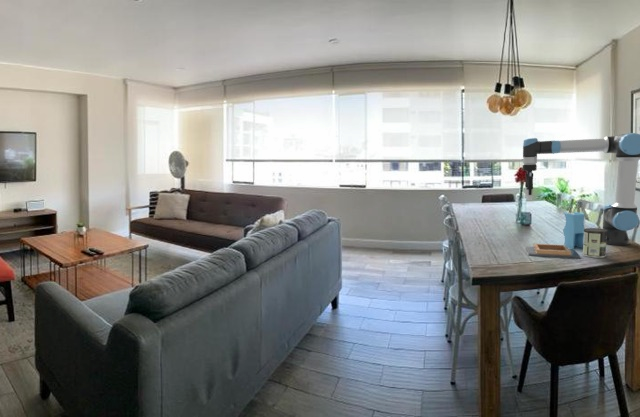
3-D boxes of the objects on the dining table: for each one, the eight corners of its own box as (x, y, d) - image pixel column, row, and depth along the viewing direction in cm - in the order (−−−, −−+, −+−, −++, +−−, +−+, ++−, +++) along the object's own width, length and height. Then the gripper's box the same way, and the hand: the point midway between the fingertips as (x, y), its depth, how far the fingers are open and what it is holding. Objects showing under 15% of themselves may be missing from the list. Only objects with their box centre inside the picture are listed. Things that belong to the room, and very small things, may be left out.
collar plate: (573, 250, 224) (573, 245, 224) (579, 258, 209) (580, 252, 208) (525, 248, 233) (525, 243, 233) (528, 255, 218) (528, 249, 217)
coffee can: (599, 253, 218) (601, 228, 216) (609, 258, 208) (611, 231, 206) (579, 253, 220) (580, 227, 218) (587, 257, 210) (589, 231, 208)
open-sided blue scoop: (574, 245, 238) (575, 212, 235) (584, 247, 230) (586, 213, 227) (562, 246, 236) (564, 212, 234) (572, 248, 229) (574, 214, 226)
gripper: (521, 163, 252) (520, 196, 255) (524, 165, 230) (523, 201, 232) (534, 163, 249) (533, 196, 252) (539, 164, 227) (537, 201, 229)
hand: (528, 199), depth 242 cm, fingers open, 13 cm apart
